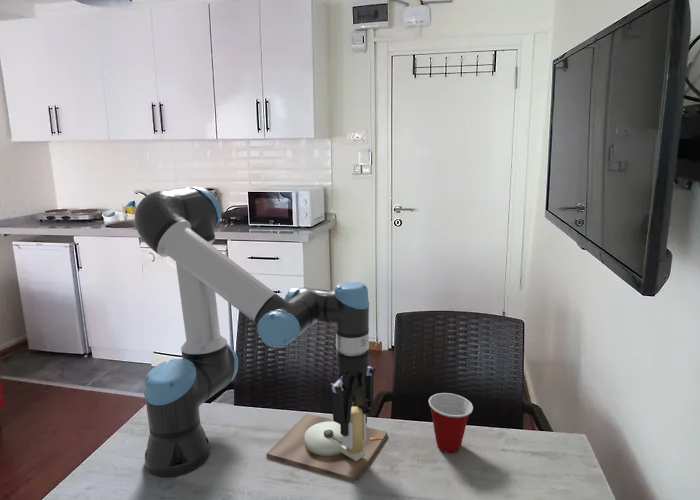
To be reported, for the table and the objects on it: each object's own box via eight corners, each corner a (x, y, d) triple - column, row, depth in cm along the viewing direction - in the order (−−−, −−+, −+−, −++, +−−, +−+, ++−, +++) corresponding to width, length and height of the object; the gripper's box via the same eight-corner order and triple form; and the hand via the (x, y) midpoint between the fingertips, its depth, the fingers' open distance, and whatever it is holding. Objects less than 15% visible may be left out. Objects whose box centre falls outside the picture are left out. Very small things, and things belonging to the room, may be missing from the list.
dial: (295, 442, 127) (292, 398, 125) (329, 423, 136) (328, 381, 133) (342, 471, 116) (341, 424, 113) (377, 448, 124) (376, 404, 121)
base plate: (266, 457, 124) (266, 452, 123) (306, 416, 141) (306, 412, 141) (356, 482, 114) (356, 477, 114) (387, 435, 132) (387, 431, 131)
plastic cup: (472, 461, 120) (474, 416, 118) (426, 457, 122) (427, 412, 120) (471, 436, 130) (472, 393, 128) (428, 432, 133) (429, 390, 130)
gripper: (338, 366, 107) (340, 465, 112) (388, 342, 119) (388, 432, 124) (314, 357, 112) (317, 451, 117) (364, 335, 124) (365, 421, 129)
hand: (354, 441), depth 120 cm, fingers closed on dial, 4 cm apart
